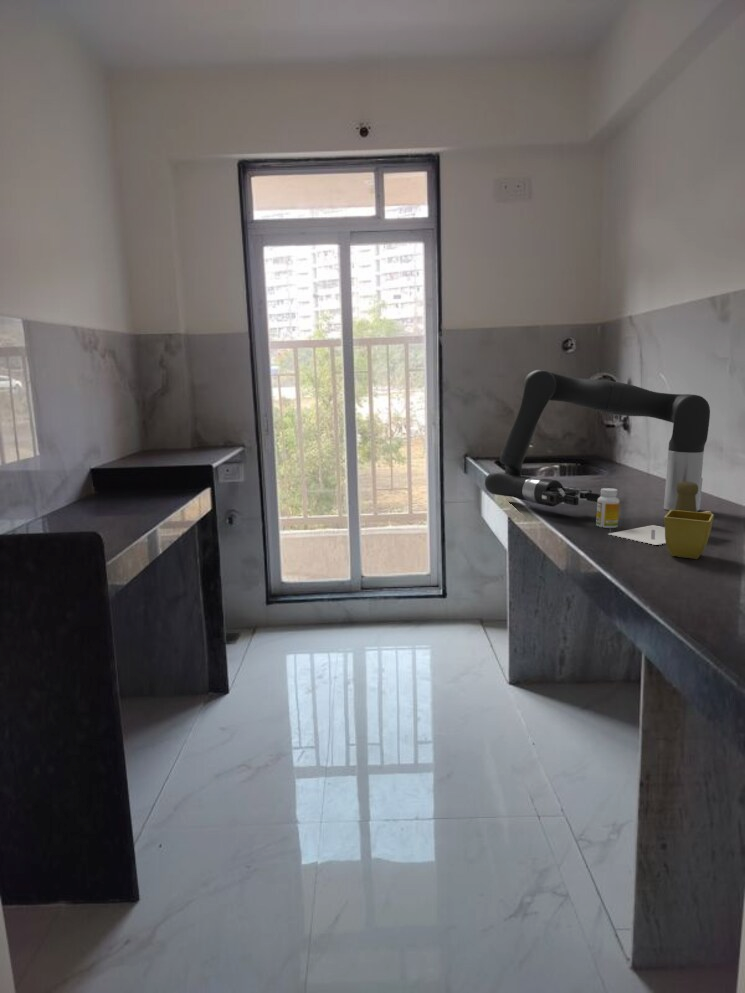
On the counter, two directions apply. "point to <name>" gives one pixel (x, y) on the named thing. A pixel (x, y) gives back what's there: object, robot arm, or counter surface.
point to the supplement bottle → (607, 509)
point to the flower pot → (687, 532)
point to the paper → (644, 534)
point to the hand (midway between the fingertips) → (588, 499)
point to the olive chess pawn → (686, 496)
